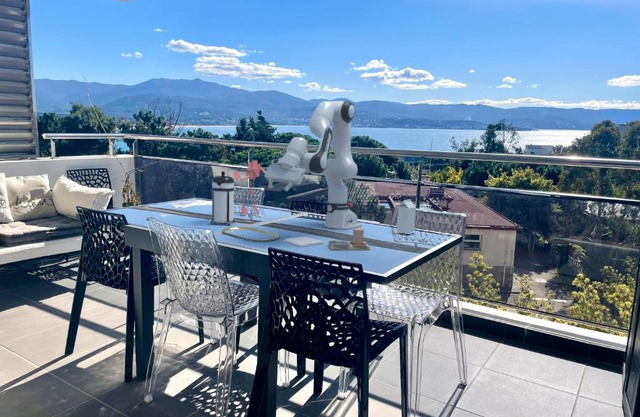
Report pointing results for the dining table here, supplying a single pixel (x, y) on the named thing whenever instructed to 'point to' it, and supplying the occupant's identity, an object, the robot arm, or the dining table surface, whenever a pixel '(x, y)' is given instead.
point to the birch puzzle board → (346, 245)
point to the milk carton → (406, 217)
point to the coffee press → (222, 199)
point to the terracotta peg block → (358, 236)
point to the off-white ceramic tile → (302, 241)
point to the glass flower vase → (252, 173)
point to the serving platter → (252, 230)
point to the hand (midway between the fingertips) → (277, 189)
